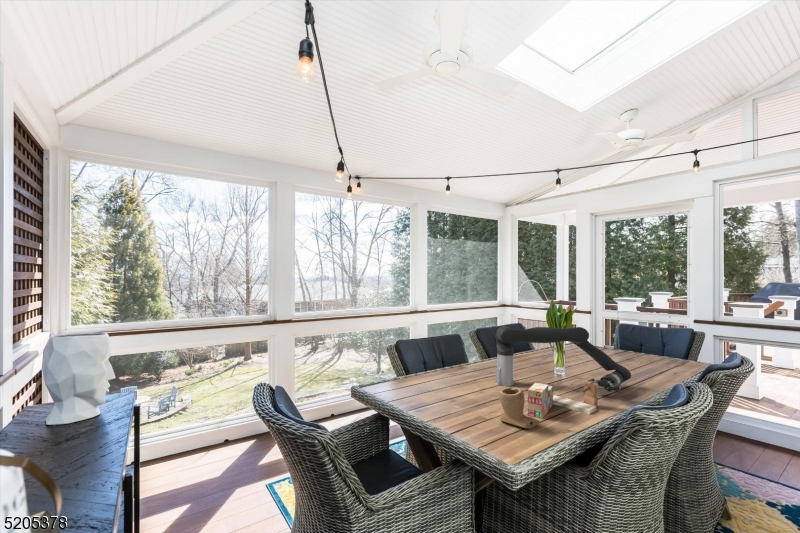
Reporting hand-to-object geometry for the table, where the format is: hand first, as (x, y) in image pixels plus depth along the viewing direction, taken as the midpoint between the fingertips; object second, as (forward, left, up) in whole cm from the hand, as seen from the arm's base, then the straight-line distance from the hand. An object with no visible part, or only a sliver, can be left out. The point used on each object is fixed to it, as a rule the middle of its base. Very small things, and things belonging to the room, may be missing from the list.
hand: (599, 387), depth 184 cm
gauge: (-11, -9, -7) cm, 16 cm away
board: (-18, -7, -7) cm, 20 cm away
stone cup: (-53, -27, -7) cm, 60 cm away
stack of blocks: (-35, -11, -7) cm, 38 cm away
